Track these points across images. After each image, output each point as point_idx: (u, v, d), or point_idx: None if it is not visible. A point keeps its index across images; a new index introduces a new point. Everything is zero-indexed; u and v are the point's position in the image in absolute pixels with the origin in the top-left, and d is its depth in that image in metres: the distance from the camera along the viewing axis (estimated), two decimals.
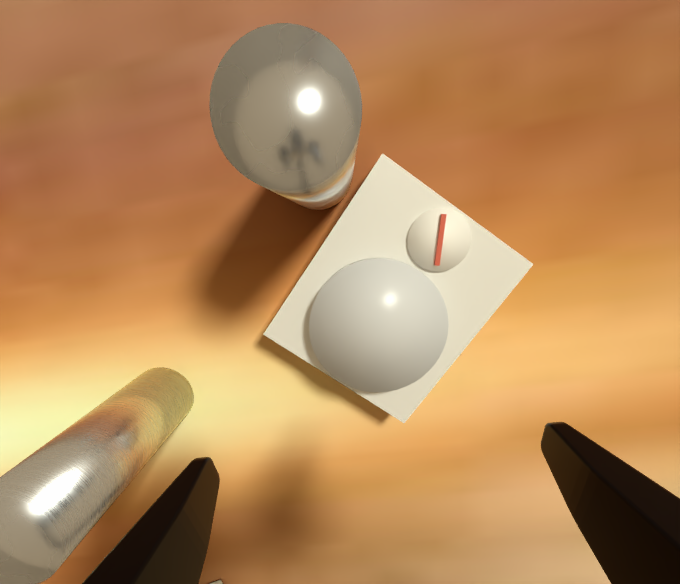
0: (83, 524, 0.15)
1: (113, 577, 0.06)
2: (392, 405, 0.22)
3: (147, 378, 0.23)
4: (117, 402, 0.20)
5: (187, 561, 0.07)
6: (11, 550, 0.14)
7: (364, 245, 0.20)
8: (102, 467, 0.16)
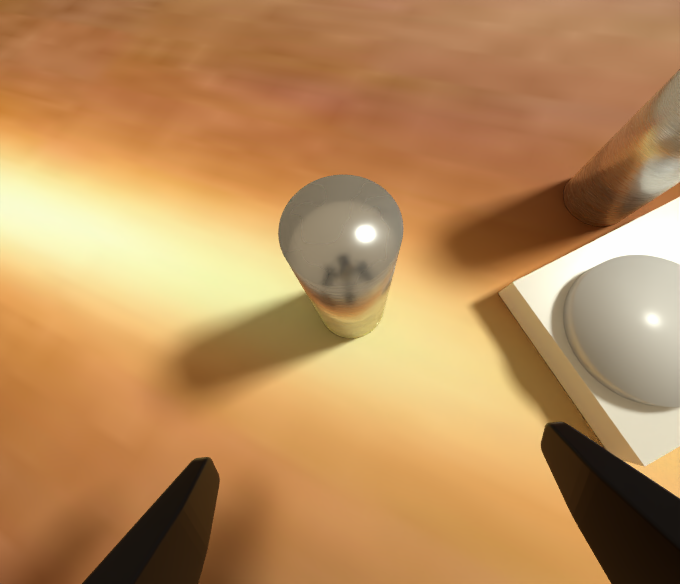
0: (389, 271, 0.13)
1: (112, 578, 0.06)
2: (634, 432, 0.18)
3: None
4: None
5: (187, 561, 0.07)
6: (337, 237, 0.12)
7: (648, 252, 0.21)
8: None
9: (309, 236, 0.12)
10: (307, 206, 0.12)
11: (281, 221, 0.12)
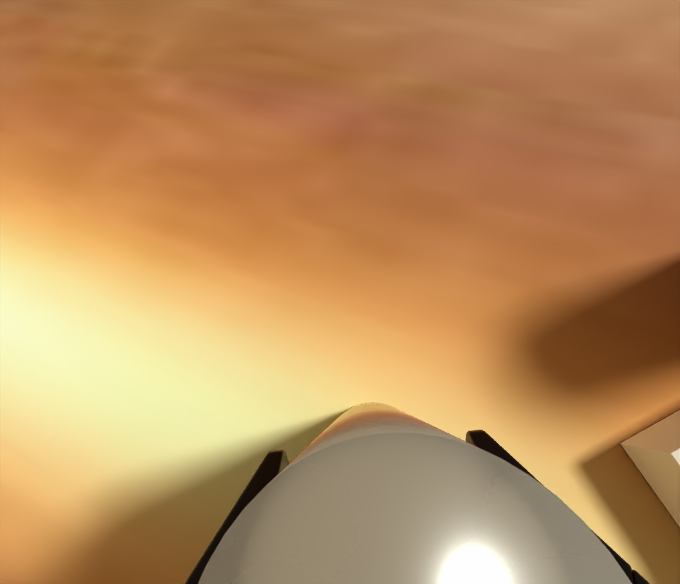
0: None
1: None
2: None
3: None
4: None
5: None
6: None
7: None
8: None
9: None
10: (287, 577, 0.03)
11: None
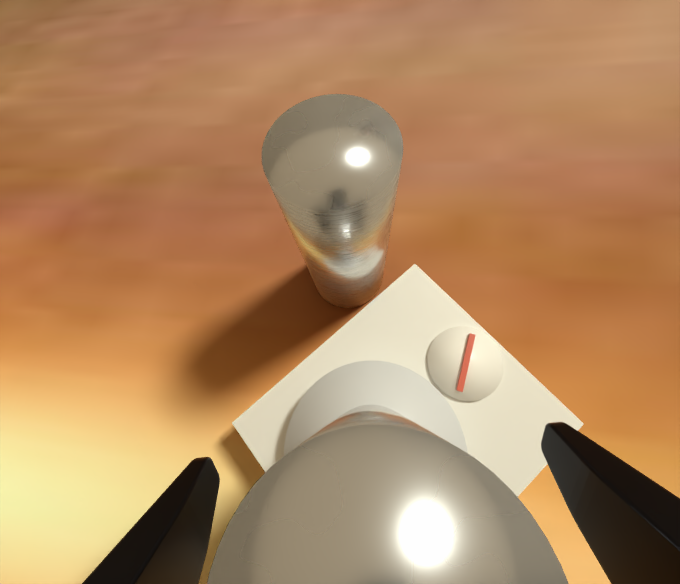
0: None
1: (112, 578, 0.06)
2: None
3: None
4: None
5: (187, 561, 0.07)
6: None
7: (378, 346, 0.18)
8: None
9: None
10: (289, 532, 0.04)
11: None
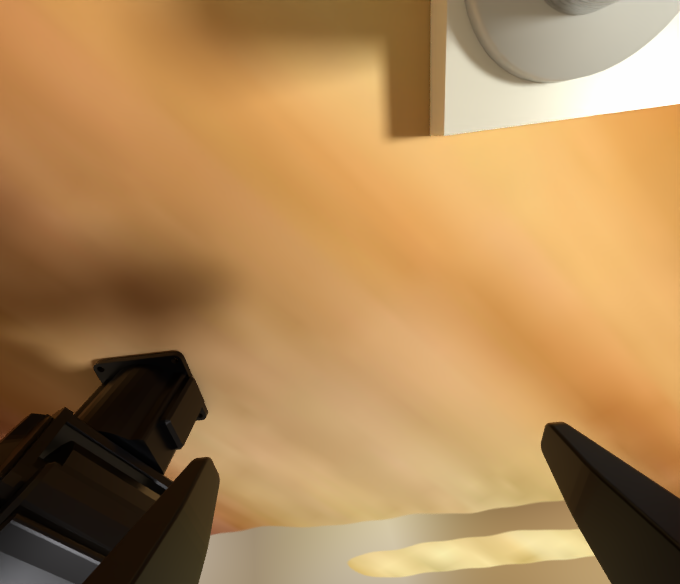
0: None
1: (112, 578, 0.06)
2: (460, 94, 0.14)
3: None
4: None
5: (187, 561, 0.07)
6: None
7: None
8: None
9: None
10: None
11: None
